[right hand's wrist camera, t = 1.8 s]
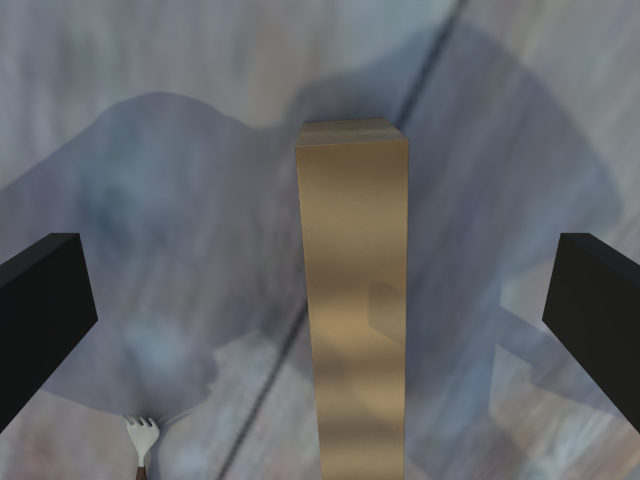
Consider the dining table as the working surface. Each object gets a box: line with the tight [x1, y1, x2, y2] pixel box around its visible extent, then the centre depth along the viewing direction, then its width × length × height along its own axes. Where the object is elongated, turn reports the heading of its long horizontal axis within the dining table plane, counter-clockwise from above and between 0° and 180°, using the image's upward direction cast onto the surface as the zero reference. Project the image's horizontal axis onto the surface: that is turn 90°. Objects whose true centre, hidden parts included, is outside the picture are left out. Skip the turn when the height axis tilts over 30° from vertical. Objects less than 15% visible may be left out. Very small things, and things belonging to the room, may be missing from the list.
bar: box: [295, 118, 409, 480], centre depth 28 cm, size 23×5×8 cm, turn 4°
